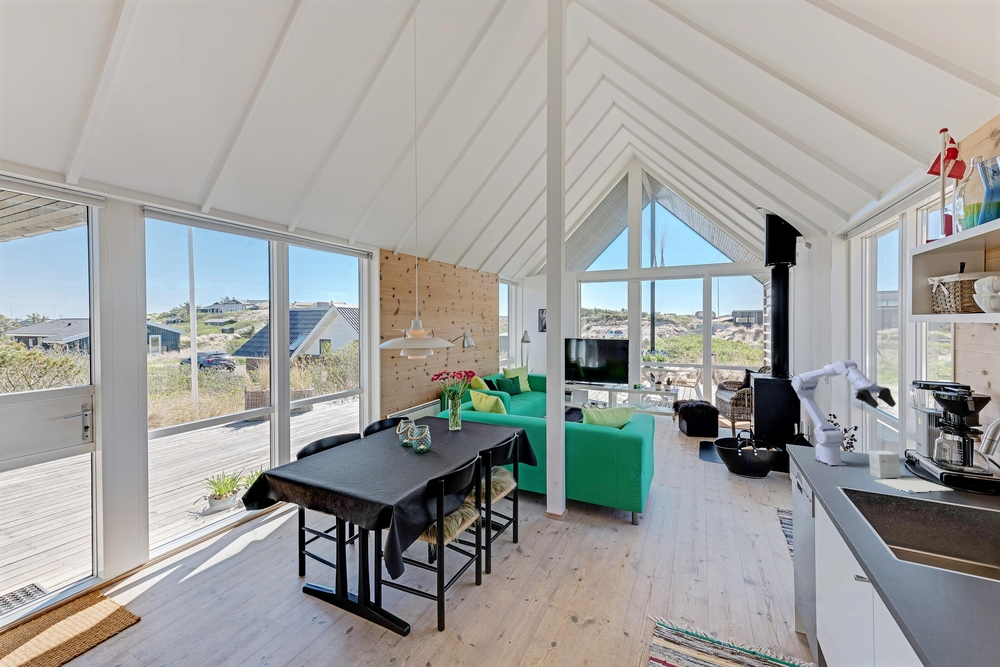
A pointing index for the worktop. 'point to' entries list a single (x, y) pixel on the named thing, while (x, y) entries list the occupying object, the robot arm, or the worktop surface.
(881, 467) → the small box
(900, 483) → the mat
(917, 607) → the worktop surface
